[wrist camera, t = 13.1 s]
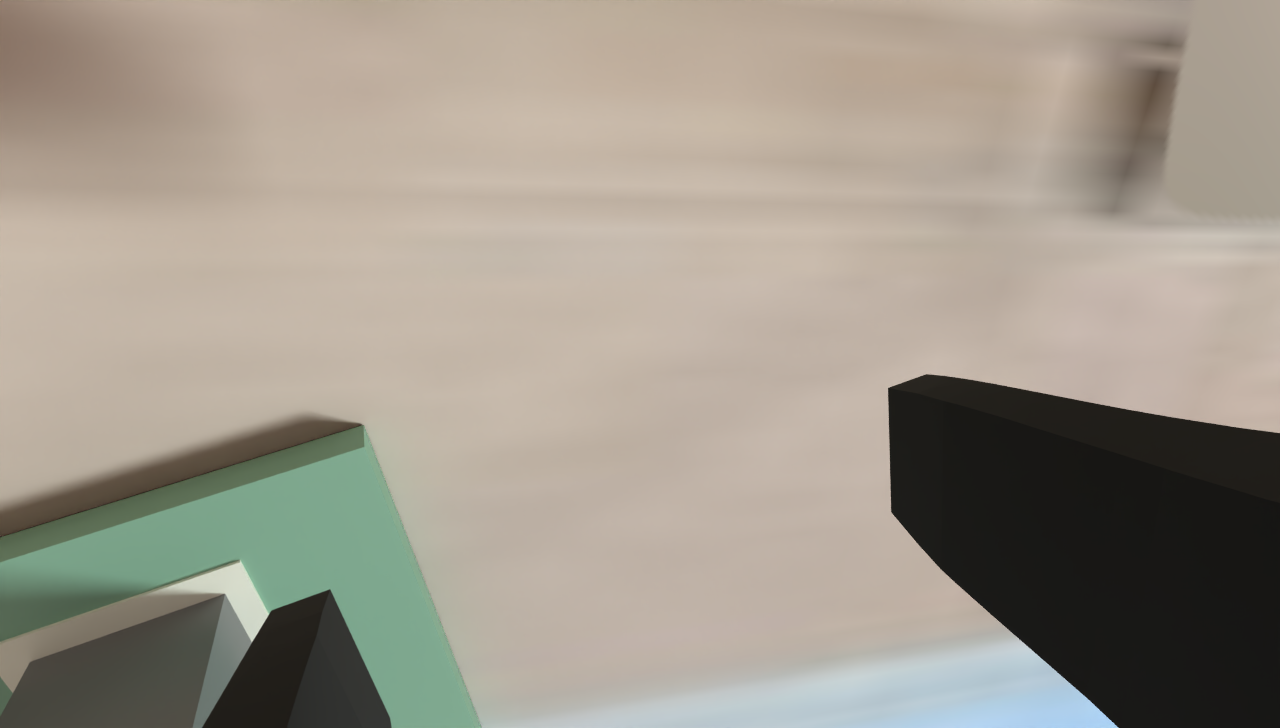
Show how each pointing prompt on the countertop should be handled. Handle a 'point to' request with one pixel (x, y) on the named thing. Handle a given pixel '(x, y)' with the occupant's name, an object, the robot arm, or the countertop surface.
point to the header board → (242, 569)
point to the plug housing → (136, 674)
